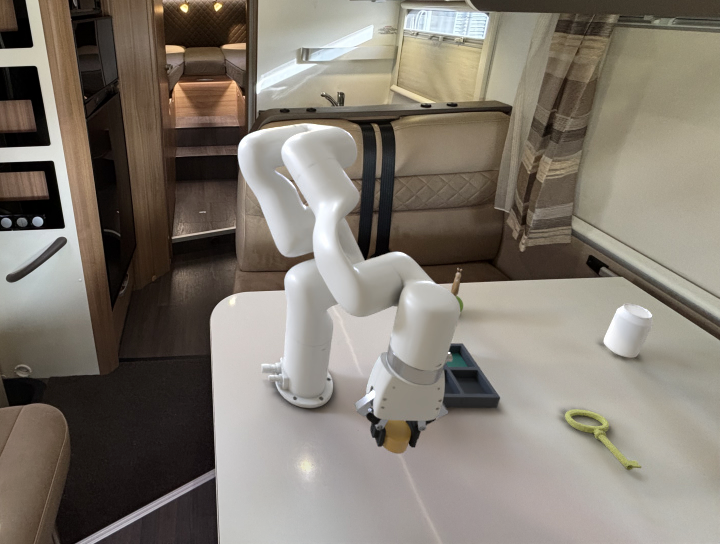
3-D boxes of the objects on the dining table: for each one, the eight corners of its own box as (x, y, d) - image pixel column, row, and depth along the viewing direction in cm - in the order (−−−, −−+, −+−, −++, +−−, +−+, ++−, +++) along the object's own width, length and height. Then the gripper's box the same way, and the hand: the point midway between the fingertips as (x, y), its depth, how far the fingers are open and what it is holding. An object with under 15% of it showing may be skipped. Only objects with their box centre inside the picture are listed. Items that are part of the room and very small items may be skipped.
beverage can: (642, 355, 101) (662, 315, 96) (627, 363, 99) (646, 323, 94) (611, 336, 106) (629, 298, 102) (596, 344, 104) (613, 305, 100)
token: (383, 453, 69) (386, 441, 67) (374, 425, 73) (376, 413, 72) (412, 454, 68) (415, 442, 67) (401, 426, 73) (404, 414, 71)
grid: (427, 407, 89) (430, 396, 88) (399, 352, 102) (401, 342, 101) (496, 408, 89) (500, 397, 87) (459, 353, 102) (462, 343, 101)
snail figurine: (461, 307, 116) (471, 271, 112) (460, 322, 111) (470, 285, 107) (439, 300, 119) (448, 265, 114) (437, 314, 114) (446, 277, 109)
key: (628, 477, 76) (632, 469, 75) (558, 415, 87) (561, 408, 86) (656, 465, 78) (660, 458, 77) (584, 407, 89) (588, 399, 88)
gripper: (458, 339, 67) (433, 418, 74) (350, 337, 67) (335, 415, 74) (486, 382, 60) (455, 463, 67) (365, 379, 60) (348, 460, 67)
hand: (392, 437), depth 70 cm, fingers closed on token, 4 cm apart
